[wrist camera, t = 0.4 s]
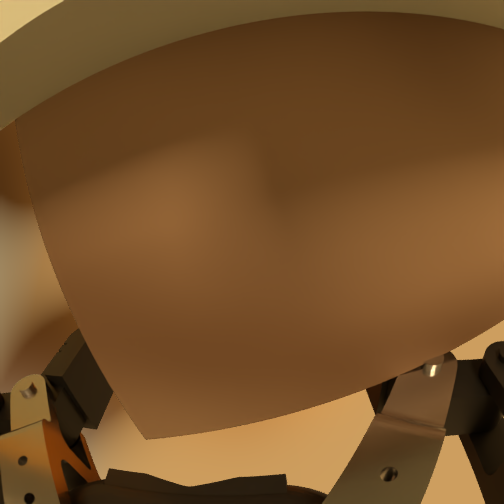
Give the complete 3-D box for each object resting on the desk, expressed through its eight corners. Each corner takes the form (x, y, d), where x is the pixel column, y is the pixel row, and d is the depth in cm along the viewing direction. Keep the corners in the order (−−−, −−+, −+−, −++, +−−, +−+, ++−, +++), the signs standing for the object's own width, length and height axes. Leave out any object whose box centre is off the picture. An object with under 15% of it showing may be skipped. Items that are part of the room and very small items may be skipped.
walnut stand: (177, 84, 32) (41, -120, 1) (267, 61, 32) (356, -166, 1) (216, 219, 36) (145, 439, 5) (306, 193, 36) (558, 280, 5)
